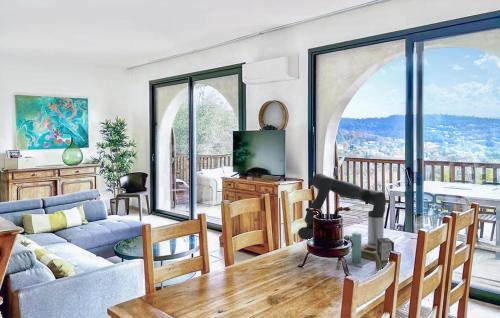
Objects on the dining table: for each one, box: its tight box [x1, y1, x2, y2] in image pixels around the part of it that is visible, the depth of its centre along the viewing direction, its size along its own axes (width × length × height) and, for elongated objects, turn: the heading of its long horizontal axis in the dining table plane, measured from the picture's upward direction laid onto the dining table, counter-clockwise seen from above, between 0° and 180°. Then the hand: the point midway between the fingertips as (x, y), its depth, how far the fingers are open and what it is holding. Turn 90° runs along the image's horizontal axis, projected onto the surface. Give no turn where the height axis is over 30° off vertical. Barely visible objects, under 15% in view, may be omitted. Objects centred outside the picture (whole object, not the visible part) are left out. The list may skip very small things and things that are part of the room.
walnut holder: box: [350, 244, 376, 263], centre depth 223 cm, size 16×16×4 cm
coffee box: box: [375, 237, 395, 272], centre depth 198 cm, size 9×6×16 cm
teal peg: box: [351, 232, 362, 263], centre depth 212 cm, size 5×5×15 cm
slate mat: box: [346, 257, 372, 268], centre depth 212 cm, size 11×11×1 cm
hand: (356, 243), depth 212 cm, fingers open, 8 cm apart
